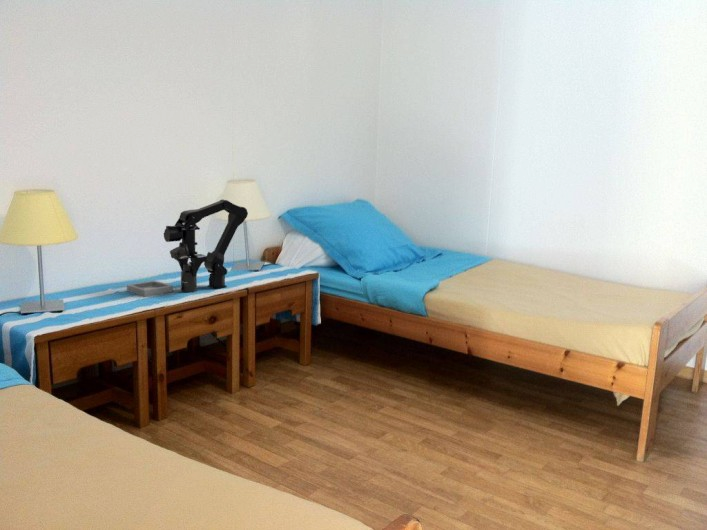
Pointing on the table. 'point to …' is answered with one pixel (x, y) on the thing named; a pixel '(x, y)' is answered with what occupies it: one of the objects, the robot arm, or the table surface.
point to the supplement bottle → (188, 279)
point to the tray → (149, 288)
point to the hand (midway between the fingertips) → (188, 275)
